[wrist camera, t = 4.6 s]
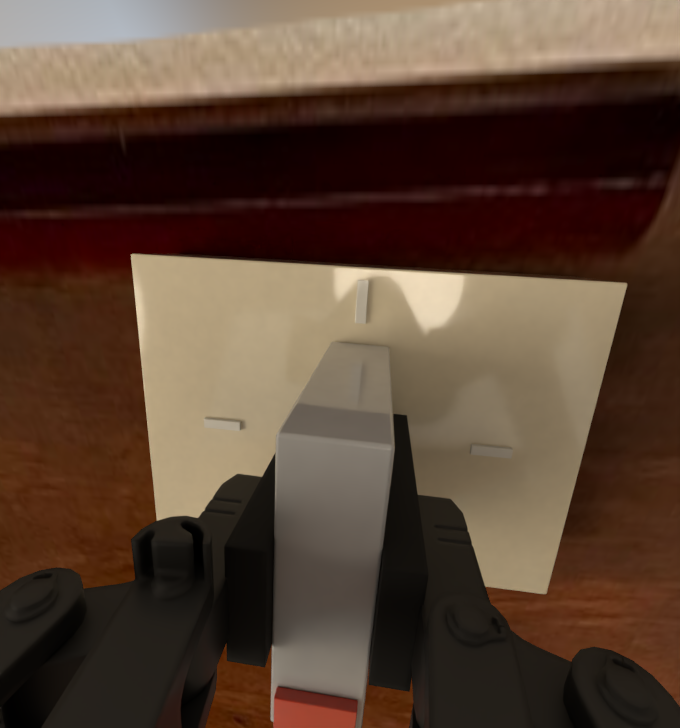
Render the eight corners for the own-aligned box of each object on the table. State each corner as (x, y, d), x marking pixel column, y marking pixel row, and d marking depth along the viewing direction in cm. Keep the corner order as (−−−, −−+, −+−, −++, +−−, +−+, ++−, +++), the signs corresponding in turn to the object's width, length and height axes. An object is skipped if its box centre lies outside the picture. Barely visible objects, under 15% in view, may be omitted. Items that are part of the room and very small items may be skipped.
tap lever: (331, 341, 13) (269, 440, 6) (390, 346, 13) (396, 454, 6) (320, 514, 15) (265, 737, 8) (371, 520, 15) (359, 754, 8)
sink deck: (580, 276, 14) (632, 283, 11) (520, 540, 18) (548, 598, 15) (175, 253, 16) (126, 253, 13) (192, 500, 19) (156, 546, 16)
